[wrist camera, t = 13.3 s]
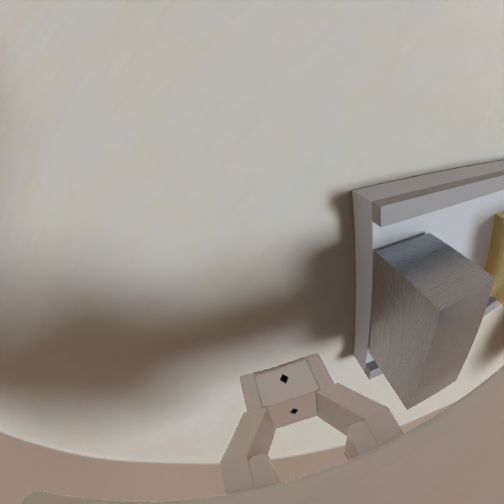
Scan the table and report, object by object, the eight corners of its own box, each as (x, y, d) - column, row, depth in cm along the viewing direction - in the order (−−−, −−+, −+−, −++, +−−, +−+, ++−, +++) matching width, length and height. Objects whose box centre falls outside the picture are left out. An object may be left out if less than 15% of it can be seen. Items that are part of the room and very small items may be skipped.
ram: (369, 352, 14) (407, 409, 10) (375, 251, 11) (440, 310, 7) (430, 323, 14) (471, 369, 10) (447, 226, 11) (510, 268, 8)
